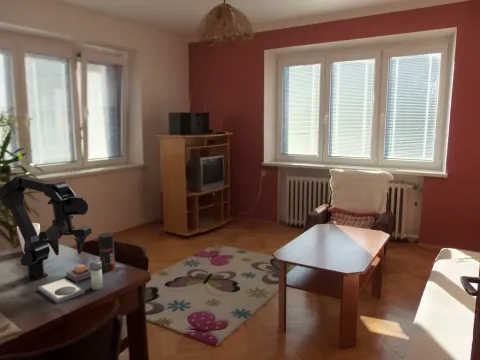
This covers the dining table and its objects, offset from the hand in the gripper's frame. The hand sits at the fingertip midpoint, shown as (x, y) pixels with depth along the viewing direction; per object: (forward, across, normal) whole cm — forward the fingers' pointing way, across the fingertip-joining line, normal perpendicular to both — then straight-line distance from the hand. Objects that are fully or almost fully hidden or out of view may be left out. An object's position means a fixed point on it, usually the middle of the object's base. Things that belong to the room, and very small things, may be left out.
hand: (68, 254), depth 145 cm
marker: (+13, +11, -2) cm, 17 cm away
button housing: (+11, -1, +7) cm, 13 cm away
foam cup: (+8, -39, +30) cm, 50 cm away
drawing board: (+12, 0, -7) cm, 14 cm away
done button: (+10, -1, +7) cm, 12 cm away
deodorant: (+12, +7, +15) cm, 21 cm away
